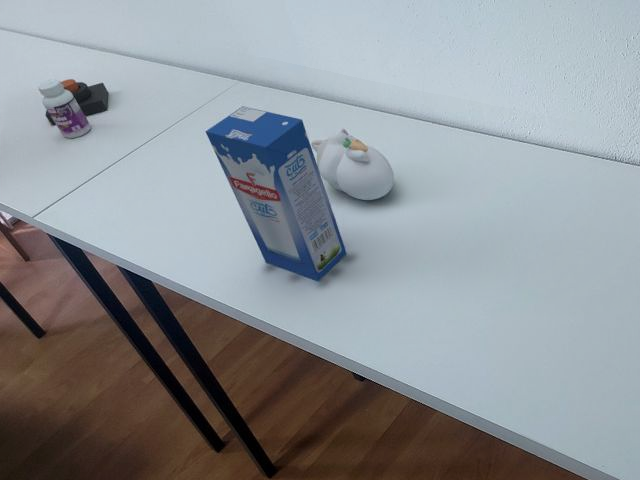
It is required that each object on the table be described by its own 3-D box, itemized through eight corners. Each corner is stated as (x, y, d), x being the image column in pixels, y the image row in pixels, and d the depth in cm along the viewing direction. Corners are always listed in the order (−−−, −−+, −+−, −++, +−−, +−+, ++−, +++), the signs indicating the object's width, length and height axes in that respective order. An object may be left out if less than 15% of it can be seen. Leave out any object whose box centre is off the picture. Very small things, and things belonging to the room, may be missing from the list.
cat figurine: (387, 143, 88) (312, 108, 94) (357, 193, 88) (285, 155, 94) (416, 175, 97) (346, 141, 103) (389, 220, 97) (320, 183, 103)
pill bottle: (60, 141, 122) (29, 93, 115) (67, 128, 126) (37, 80, 119) (88, 136, 123) (58, 87, 115) (95, 122, 126) (66, 74, 119)
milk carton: (265, 262, 89) (204, 131, 74) (294, 236, 92) (242, 105, 78) (318, 281, 85) (265, 146, 70) (347, 254, 88) (302, 119, 73)
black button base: (51, 125, 128) (39, 106, 125) (55, 106, 134) (43, 88, 131) (107, 110, 129) (96, 91, 126) (108, 92, 135) (98, 73, 132)
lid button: (61, 97, 127) (55, 89, 126) (62, 90, 130) (57, 82, 128) (79, 92, 128) (74, 84, 127) (80, 85, 130) (75, 77, 129)
